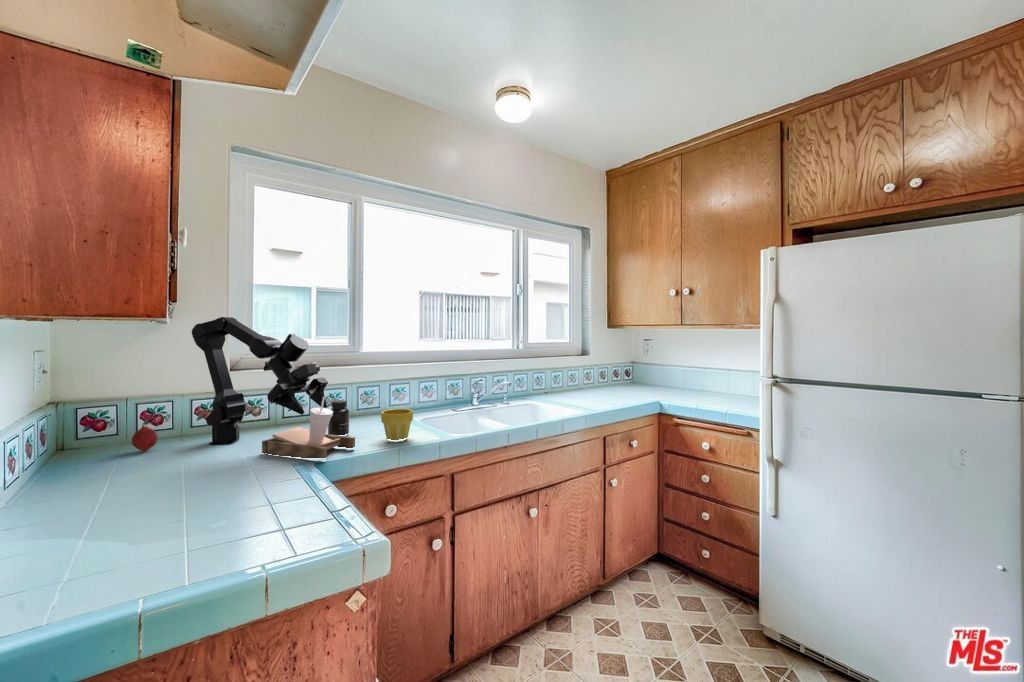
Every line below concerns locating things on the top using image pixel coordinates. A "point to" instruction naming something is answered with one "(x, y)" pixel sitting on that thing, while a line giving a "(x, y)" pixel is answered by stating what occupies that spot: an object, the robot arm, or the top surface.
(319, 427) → the smoothie
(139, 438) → the onion
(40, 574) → the top surface
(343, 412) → the supplement bottle
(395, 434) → the plant pot
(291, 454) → the frame
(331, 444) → the trapdoor
